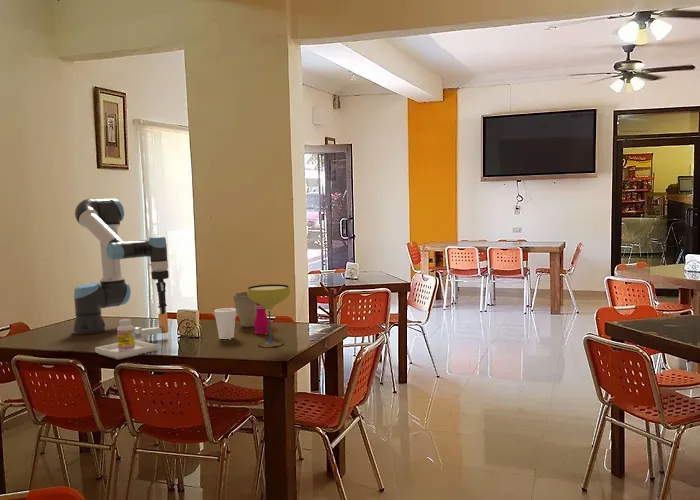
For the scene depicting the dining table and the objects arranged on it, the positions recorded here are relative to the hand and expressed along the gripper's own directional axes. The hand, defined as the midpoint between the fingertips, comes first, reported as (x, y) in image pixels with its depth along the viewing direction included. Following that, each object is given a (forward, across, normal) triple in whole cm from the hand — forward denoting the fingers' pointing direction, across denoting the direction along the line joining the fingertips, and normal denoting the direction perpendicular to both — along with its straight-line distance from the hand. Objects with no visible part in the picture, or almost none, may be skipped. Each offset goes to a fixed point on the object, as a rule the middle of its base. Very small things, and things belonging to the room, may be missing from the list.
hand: (163, 320), depth 303 cm
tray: (+7, +24, -18) cm, 30 cm away
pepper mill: (+9, +14, +42) cm, 46 cm away
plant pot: (+9, -8, +41) cm, 43 cm away
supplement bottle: (+6, +24, -18) cm, 30 cm away
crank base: (+7, +6, -12) cm, 16 cm away
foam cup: (+8, +17, +26) cm, 32 cm away
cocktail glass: (+8, +39, +40) cm, 57 cm away
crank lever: (+4, +5, -7) cm, 9 cm away
